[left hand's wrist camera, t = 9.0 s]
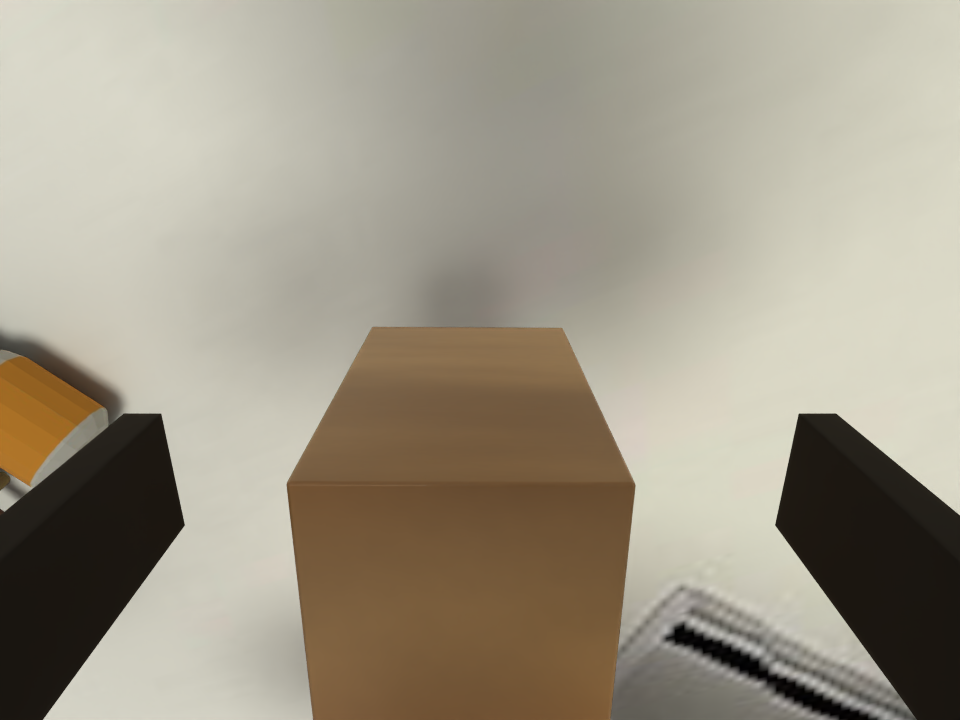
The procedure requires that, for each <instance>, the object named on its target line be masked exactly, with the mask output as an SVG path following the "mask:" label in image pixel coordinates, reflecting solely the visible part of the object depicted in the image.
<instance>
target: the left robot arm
mask: <svg viewBox="0 0 960 720" xmlns="http://www.w3.org/2000/svg"><path fill="white" fill-rule="evenodd" d="M184 526H185V524H184V519H183V515H182V510H181V505H180V501H179V496H178V491H177V486H176V482H175V477H174V472H173V467H172V463H171V458H170V453H169V449H168V444H167V439H166V434H165V430H164V425H163V420H162V415H161V414H123V415H122V416H120V417H119V418H118V419H117V420H116V421H114V422H113V423H112V424H111V425H110V426H108V427H107V428H106V429H105V430H103V431H102V432H101V433H100V434H99V435H97V436H96V437H95V438H94V439H93V440H91V441H90V442H89V443H88V444H86V445H85V446H84V447H83V448H82V449H80V450H79V451H78V452H77V453H76V454H74V455H73V456H72V457H71V458H69V459H68V460H67V461H66V462H65V463H63V464H62V465H61V466H60V467H59V468H57V469H56V470H55V471H54V472H52V473H51V474H50V475H49V476H48V477H46V478H45V479H44V480H43V481H42V482H40V483H39V484H38V485H37V486H35V487H34V488H33V489H32V490H31V491H29V492H28V493H27V494H26V495H25V496H23V497H22V498H21V499H20V500H18V501H17V502H16V503H15V504H14V505H12V506H11V507H10V508H9V509H8V510H6V511H5V512H4V513H3V514H1V515H0V720H43V719H44V717H45V716H46V715H47V713H48V712H49V711H50V709H51V708H52V706H53V705H54V704H55V702H56V701H57V700H58V698H59V697H60V695H61V694H62V693H63V691H64V690H65V689H66V687H67V686H68V685H69V683H70V682H71V680H72V679H73V678H74V676H75V675H76V674H77V672H78V671H79V669H80V668H81V667H82V665H83V664H84V663H85V661H86V660H87V658H88V657H89V656H90V654H91V653H92V652H93V650H94V649H95V648H96V646H97V645H98V643H99V642H100V641H101V639H102V638H103V637H104V635H105V634H106V632H107V631H108V630H109V628H110V627H111V626H112V624H113V623H114V621H115V620H116V619H117V617H118V616H119V615H120V613H121V612H122V611H123V609H124V608H125V606H126V605H127V604H128V602H129V601H130V600H131V598H132V597H133V595H134V594H135V593H136V591H137V590H138V589H139V587H140V586H141V584H142V583H143V582H144V580H145V579H146V578H147V576H148V575H149V574H150V572H151V571H152V569H153V568H154V567H155V565H156V564H157V563H158V561H159V560H160V558H161V557H162V556H163V554H164V553H165V552H166V550H167V549H168V547H169V546H170V545H171V543H172V542H173V541H174V539H175V538H176V537H177V535H178V534H179V532H180V531H181V530H182V528H183V527H184ZM775 526H776V527H777V528H778V530H779V531H780V532H781V534H782V535H783V537H784V538H785V539H786V541H787V542H788V543H789V545H790V546H791V547H792V549H793V550H794V552H795V553H796V554H797V556H798V557H799V558H800V560H801V561H802V563H803V564H804V565H805V567H806V568H807V569H808V571H809V572H810V574H811V575H812V576H813V578H814V579H815V580H816V582H817V583H818V584H819V586H820V587H821V589H822V590H823V591H824V593H825V594H826V595H827V597H828V598H829V600H830V601H831V602H832V604H833V605H834V606H835V608H836V609H837V611H838V612H839V613H840V615H841V616H842V617H843V619H844V620H845V621H846V623H847V624H848V626H849V627H850V628H851V630H852V631H853V632H854V634H855V635H856V637H857V638H858V639H859V641H860V642H861V643H862V645H863V646H864V648H865V649H866V650H867V652H868V653H869V654H870V656H871V657H872V658H873V660H874V661H875V663H876V664H877V665H878V667H879V668H880V669H881V671H882V672H883V674H884V675H885V676H886V678H887V679H888V680H889V682H890V683H891V685H892V686H893V687H894V689H895V690H896V691H897V693H898V694H899V695H900V697H901V698H902V700H903V701H904V702H905V704H906V705H907V706H908V708H909V709H910V711H911V712H912V713H913V715H914V716H915V717H916V719H917V720H960V515H959V514H957V513H956V512H955V511H954V510H952V509H951V508H950V507H949V506H948V505H946V504H945V503H944V502H943V501H942V500H940V499H939V498H938V497H937V496H935V495H934V494H933V493H932V492H931V491H929V490H928V489H927V488H926V487H925V486H923V485H922V484H921V483H920V482H918V481H917V480H916V479H915V478H914V477H912V476H911V475H910V474H909V473H908V472H906V471H905V470H904V469H903V468H901V467H900V466H899V465H898V464H897V463H895V462H894V461H893V460H892V459H891V458H889V457H888V456H887V455H886V454H884V453H883V452H882V451H881V450H880V449H878V448H877V447H876V446H875V445H874V444H872V443H871V442H870V441H869V440H867V439H866V438H865V437H864V436H863V435H861V434H860V433H859V432H858V431H857V430H855V429H854V428H853V427H852V426H850V425H849V424H848V423H847V422H846V421H844V420H843V419H842V418H841V417H840V416H838V415H837V414H799V415H798V420H797V425H796V430H795V434H794V439H793V444H792V449H791V453H790V458H789V463H788V467H787V472H786V477H785V482H784V486H783V491H782V496H781V501H780V505H779V510H778V515H777V519H776V524H775Z"/></svg>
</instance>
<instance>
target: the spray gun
mask: <svg viewBox="0 0 960 720" xmlns="http://www.w3.org/2000/svg"><path fill="white" fill-rule="evenodd" d="M108 425H109V423H108V413H107V410H106V408H105V407H103V406H102V405H100V404H99V403H97V402H96V401H94V400H92V399H91V398H89V397H88V396H86V395H85V394H83V393H82V392H80V391H78V390H77V389H75V388H74V387H72V386H71V385H69V384H67V383H66V382H64V381H63V380H61V379H60V378H58V377H56V376H55V375H53V374H52V373H50V372H49V371H47V370H46V369H44V368H42V367H41V366H39V365H38V364H36V363H35V362H33V361H31V360H30V359H28V358H27V357H24V356H21V355H19V354H16V353H13V352H10V351H6V350H0V468H2V469H3V470H5V471H6V472H8V473H10V474H11V475H13V476H14V477H16V478H18V479H19V480H21V481H22V482H24V483H25V484H27V485H29V486H30V487H35V486H37V485H38V484H39V483H40V482H42V481H43V480H44V479H45V478H46V477H48V476H49V475H50V474H51V473H52V472H54V471H55V470H56V469H57V468H59V467H60V466H61V465H62V464H63V463H65V462H66V461H67V460H68V459H69V458H71V457H72V456H73V455H74V454H76V453H77V452H78V451H79V450H80V449H82V448H83V447H84V446H85V445H86V444H88V443H89V442H90V441H91V440H93V439H94V438H95V437H96V436H97V435H99V434H100V433H101V432H102V431H103V430H105V429H106V428H107V427H108ZM9 482H10V477H9V476H8V475H7V474H6V473H5V472H0V490H2V489H3V488H4V487H5V486H6V485H7V484H8V483H9ZM3 513H4V511H2V510H1V509H0V515H1V514H3Z"/></svg>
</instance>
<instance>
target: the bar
mask: <svg viewBox="0 0 960 720" xmlns="http://www.w3.org/2000/svg"><path fill="white" fill-rule="evenodd" d="M287 493H288V502H289V510H290V519H291V528H292V537H293V546H294V555H295V563H296V572H297V581H298V590H299V599H300V608H301V616H302V625H303V634H304V643H305V652H306V661H307V669H308V678H309V687H310V696H311V705H312V714H313V720H610V717H611V708H612V699H613V689H614V680H615V671H616V661H617V652H618V643H619V634H620V624H621V615H622V606H623V597H624V587H625V578H626V569H627V559H628V550H629V541H630V532H631V522H632V513H633V504H634V495H635V483H634V480H633V478H632V476H631V474H630V472H629V470H628V468H627V465H626V463H625V461H624V459H623V457H622V455H621V453H620V450H619V448H618V446H617V444H616V442H615V440H614V438H613V435H612V433H611V431H610V429H609V427H608V425H607V423H606V420H605V418H604V416H603V414H602V412H601V410H600V408H599V406H598V403H597V401H596V399H595V397H594V395H593V393H592V391H591V388H590V386H589V384H588V382H587V380H586V378H585V376H584V373H583V371H582V369H581V367H580V365H579V363H578V361H577V358H576V356H575V354H574V352H573V350H572V348H571V346H570V343H569V341H568V339H567V337H566V335H565V333H564V331H563V329H562V328H478V327H372V329H371V331H370V332H369V334H368V336H367V338H366V340H365V341H364V343H363V345H362V347H361V349H360V351H359V352H358V354H357V356H356V358H355V360H354V361H353V363H352V365H351V367H350V369H349V371H348V372H347V374H346V376H345V378H344V380H343V382H342V383H341V385H340V387H339V389H338V391H337V392H336V394H335V396H334V398H333V400H332V402H331V403H330V405H329V407H328V409H327V411H326V412H325V414H324V416H323V418H322V420H321V422H320V423H319V425H318V427H317V429H316V431H315V433H314V434H313V436H312V438H311V440H310V442H309V443H308V445H307V447H306V449H305V451H304V453H303V454H302V456H301V458H300V460H299V462H298V464H297V465H296V467H295V469H294V471H293V473H292V474H291V476H290V478H289V480H288V482H287Z"/></svg>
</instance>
